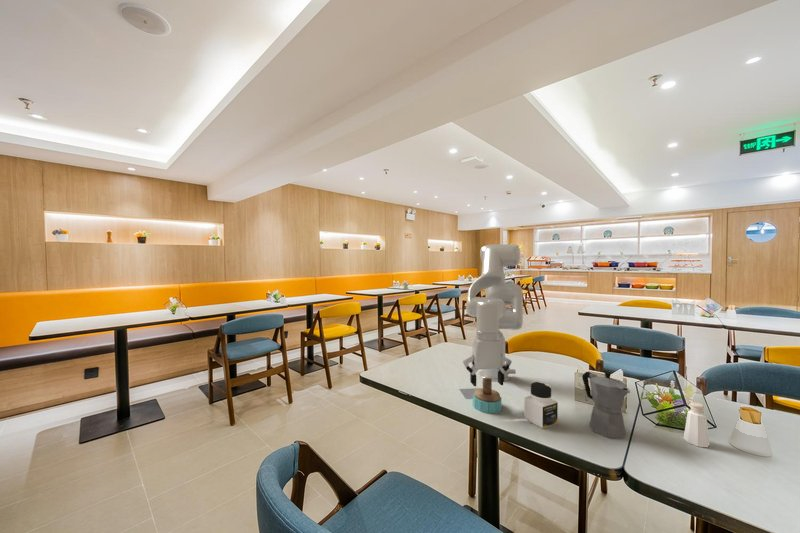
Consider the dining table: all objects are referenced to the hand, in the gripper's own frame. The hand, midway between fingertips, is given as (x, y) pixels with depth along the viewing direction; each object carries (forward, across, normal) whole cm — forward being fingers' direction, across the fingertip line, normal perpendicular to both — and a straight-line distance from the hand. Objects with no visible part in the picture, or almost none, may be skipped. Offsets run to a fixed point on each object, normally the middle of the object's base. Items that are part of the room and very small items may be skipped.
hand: (487, 384), depth 107 cm
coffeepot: (+8, -31, +16) cm, 36 cm away
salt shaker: (+8, -52, +25) cm, 58 cm away
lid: (+4, 0, 0) cm, 4 cm away
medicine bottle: (+8, -14, +10) cm, 19 cm away
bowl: (+8, 0, 0) cm, 8 cm away
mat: (+8, +1, -11) cm, 14 cm away
